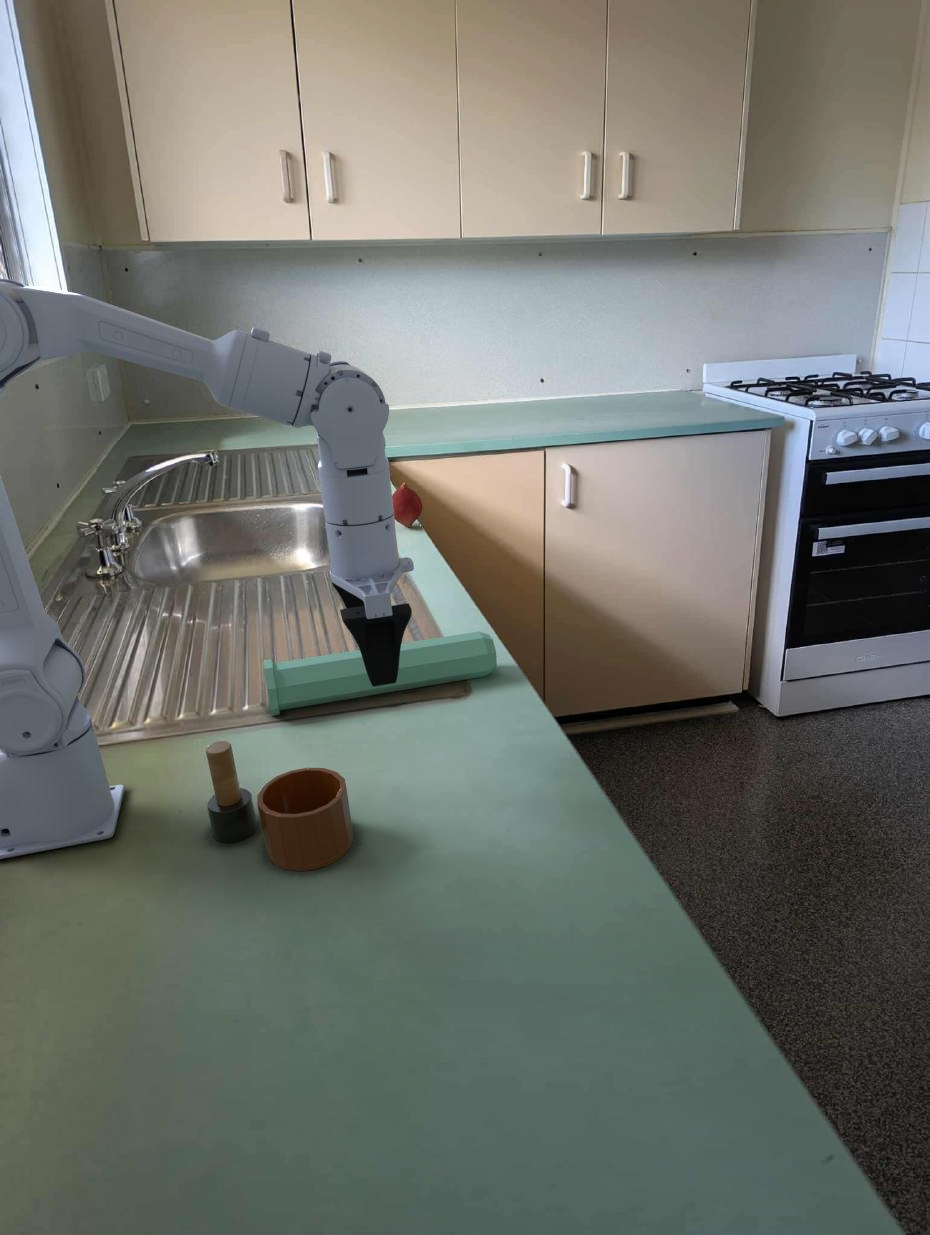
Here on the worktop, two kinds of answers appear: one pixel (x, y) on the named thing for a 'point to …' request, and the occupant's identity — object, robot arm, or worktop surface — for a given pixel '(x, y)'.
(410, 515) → the onion
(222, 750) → the brush
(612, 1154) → the worktop surface
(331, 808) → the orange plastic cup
